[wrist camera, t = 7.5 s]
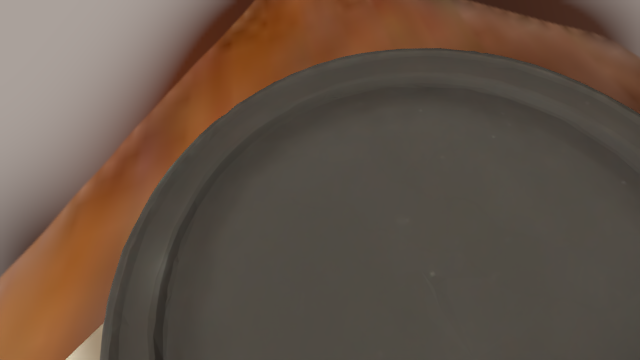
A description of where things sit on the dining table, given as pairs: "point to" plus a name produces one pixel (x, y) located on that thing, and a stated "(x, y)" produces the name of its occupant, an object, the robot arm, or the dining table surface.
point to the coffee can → (393, 221)
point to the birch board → (89, 347)
